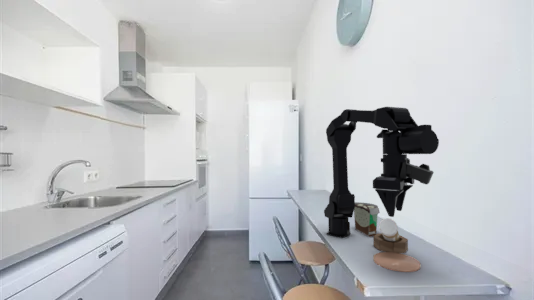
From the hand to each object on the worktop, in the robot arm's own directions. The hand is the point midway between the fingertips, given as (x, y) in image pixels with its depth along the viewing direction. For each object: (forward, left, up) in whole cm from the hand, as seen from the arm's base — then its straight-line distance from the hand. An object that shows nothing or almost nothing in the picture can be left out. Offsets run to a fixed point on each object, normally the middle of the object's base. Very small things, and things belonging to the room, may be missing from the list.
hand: (395, 213), depth 68 cm
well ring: (-4, +11, -13) cm, 17 cm away
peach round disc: (0, 0, -13) cm, 13 cm away
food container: (-14, +23, -13) cm, 30 cm away
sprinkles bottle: (-4, +12, -10) cm, 16 cm away
